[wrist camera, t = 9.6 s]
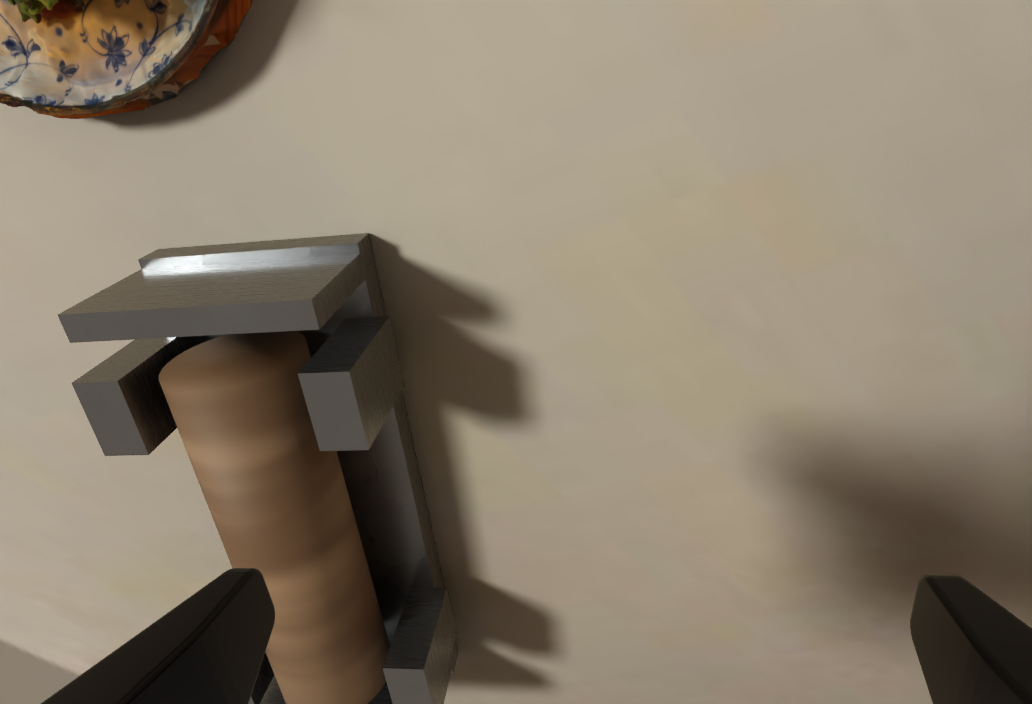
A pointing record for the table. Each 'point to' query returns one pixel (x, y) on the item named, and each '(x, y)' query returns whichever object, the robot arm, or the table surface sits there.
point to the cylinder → (282, 510)
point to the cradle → (328, 394)
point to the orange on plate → (107, 51)
